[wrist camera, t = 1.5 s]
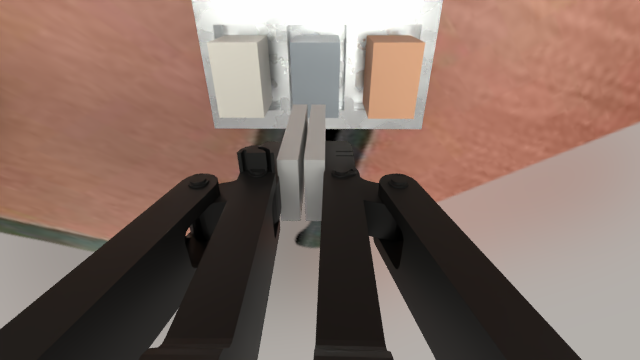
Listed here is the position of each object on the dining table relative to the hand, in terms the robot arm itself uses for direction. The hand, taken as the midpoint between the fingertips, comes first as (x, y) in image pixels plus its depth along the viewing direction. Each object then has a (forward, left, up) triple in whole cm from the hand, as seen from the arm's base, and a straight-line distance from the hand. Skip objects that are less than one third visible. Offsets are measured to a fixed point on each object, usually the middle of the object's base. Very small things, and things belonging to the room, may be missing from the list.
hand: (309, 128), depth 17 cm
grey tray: (0, 0, -19) cm, 19 cm away
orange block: (+7, 0, -15) cm, 17 cm away
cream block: (-7, 0, -16) cm, 17 cm away
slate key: (0, 0, -16) cm, 16 cm away
